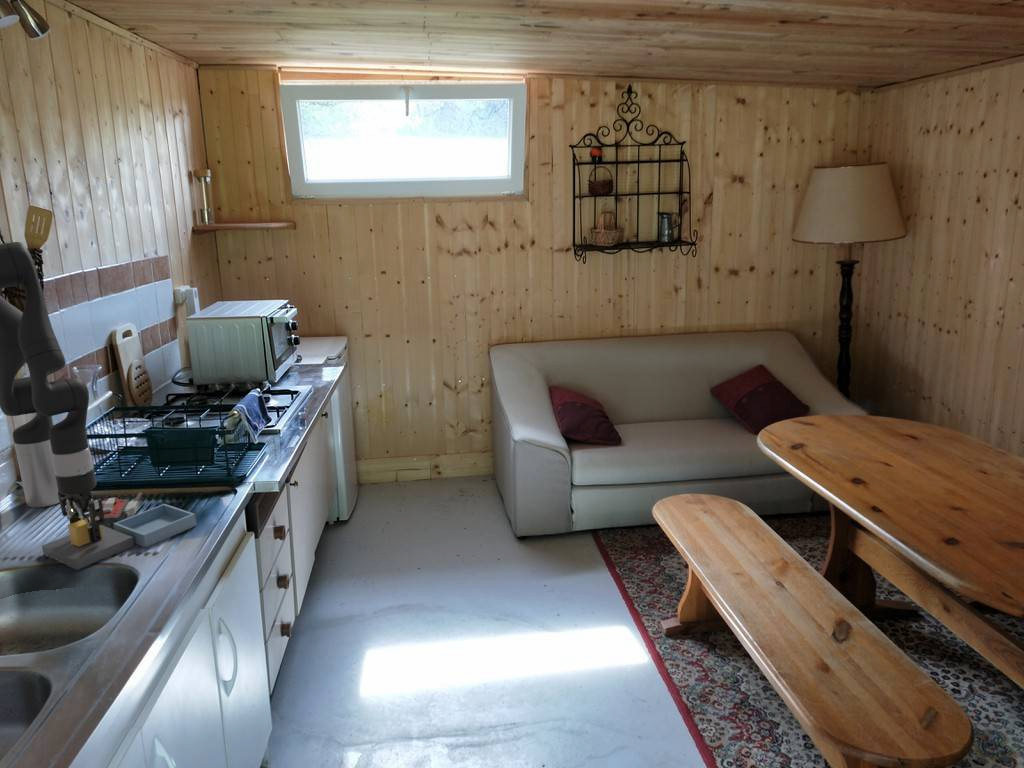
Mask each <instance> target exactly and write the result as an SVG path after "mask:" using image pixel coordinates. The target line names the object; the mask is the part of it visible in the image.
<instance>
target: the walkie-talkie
mask: <svg viewBox="0 0 1024 768" xmlns="http://www.w3.org/2000/svg"><path fill="white" fill-rule="evenodd" d="M142 495H143V492H142V491H139V492H138V493H137V494H136V497H135V498H134V500H133V501H129V500H128V499H119V498H118V496H117V497H110V498H109V497H108V498H107V499H106V501H104V502H102V506H103V513H104V520H105V524H102V525H103V526H106V527H108V528H111V529H114V525H113V524H114V523H116V522H119V521H121V520H124V519H126V518H129V517H132V516H134V515H136V513H137V511H138V510H139V509H140V505H139V501H140V500H141V497H142ZM98 517H99V516H98Z"/></svg>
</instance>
